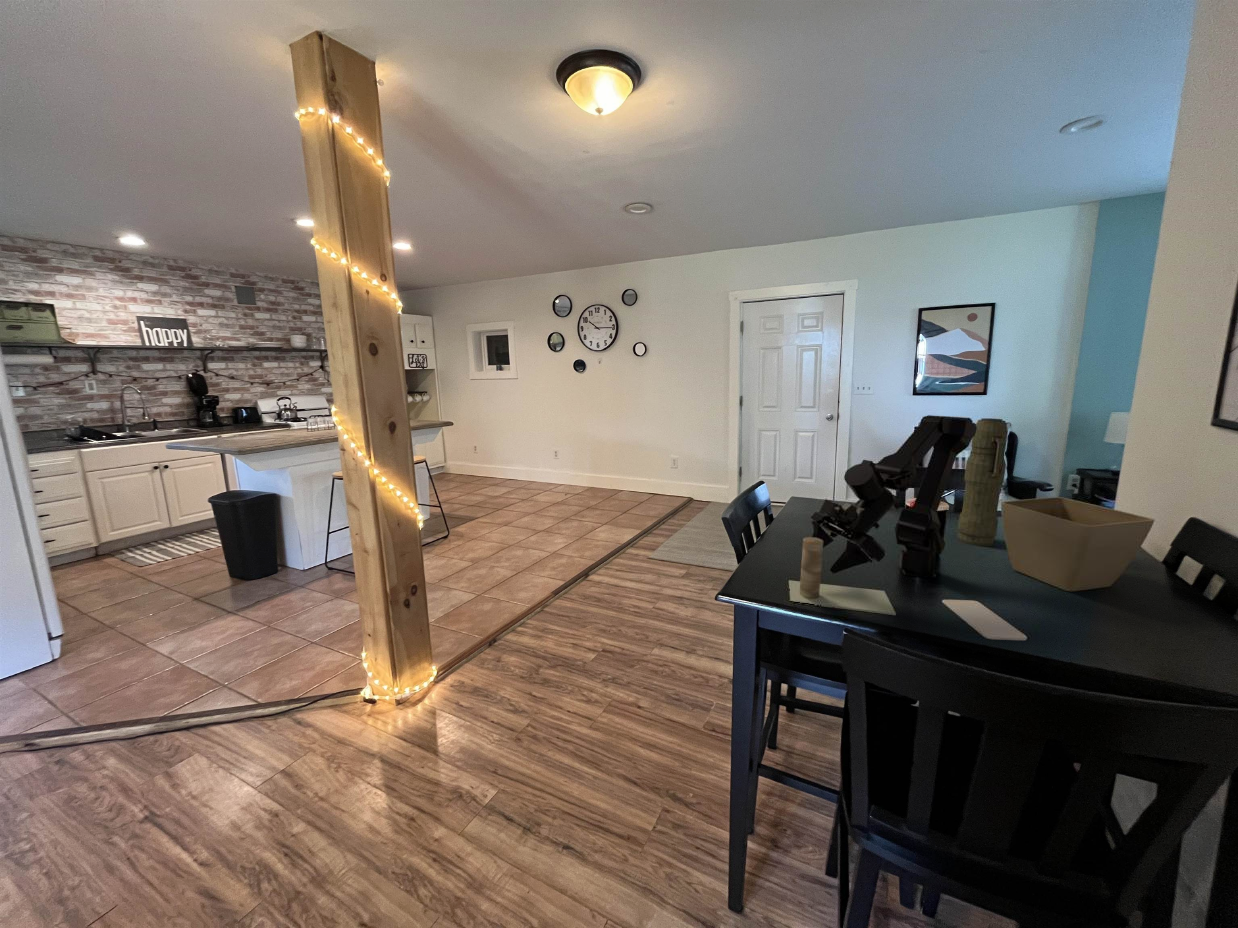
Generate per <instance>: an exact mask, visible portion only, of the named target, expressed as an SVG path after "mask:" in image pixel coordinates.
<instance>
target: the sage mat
mask: <svg viewBox="0 0 1238 928" xmlns="http://www.w3.org/2000/svg"><path fill="white" fill-rule="evenodd" d="M788 588H789V589H790V591H789V602H790V601H793V602H800V603H799V604H801V603H809V604H814V605H813V606H817V605H819V606H818V607H825V608H826V607H827V608H833V607H834V609H842V610H850V611H859V612H865V613H874V614H875V613H876V614H881V615H889V616H891V615H892V616H896V614H897V613H896V611H895V609H894V607H893V605H892V603H891V602H890V599H889V597H888V595H887V594H886V591H885V590H878V589H870V588H860V587H852V586H843V585H833V584H826V583H820V591H819V597H818V598H816V599H809V598H805V597H803V596H801V595H800V580H799V581H797V580H788ZM793 602H792V603H793ZM809 604H808V605H809ZM820 605H821V606H820Z"/></svg>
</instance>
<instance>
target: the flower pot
mask: <svg viewBox="0 0 1238 928" xmlns="http://www.w3.org/2000/svg"><path fill="white" fill-rule="evenodd" d="M1000 510H1001V511H1000V512H1001V513H1000V514H1001V523H1002V524H1001V525H1002V529H1003V536H1004V541H1005V546H1006V549H1007V553H1008V557H1009V561H1010V564H1011V566H1012V568H1013V570H1014V571H1016V572H1018V573H1021V574H1024V575H1026V576H1029V577H1031V578H1033V579H1035V580H1038V581H1041V582H1043V583H1045V584H1048V585H1051V586H1053V587H1055V588H1058V589H1061V590H1062V591H1067V592H1078V591H1087V590H1095V589H1101V588H1108V587H1111V586H1112V585H1113V584H1114V583H1115V582H1116V581H1117V580H1118V579H1119V577H1120V576H1121V575H1122V573H1123V572H1124V571H1125V570H1126V569H1127V567H1128V566H1129V565H1130V563H1131V562H1132V560H1133V559H1134V558H1135V556H1137V553H1138V552H1139V550H1140V549H1141V547H1142V545H1143V544H1144V542H1145V541H1146V539H1147V537H1148V534H1149V533H1150V531H1151V529H1152V527H1153V525H1154V522H1155V519H1154V518H1152V517H1147V516H1144V515H1143V516H1142V515H1138V514H1134V513H1130V512H1127V511H1122V510H1118V509H1114V508H1110V507H1105V506H1101V505H1096V504H1094V503H1093V504H1091V503H1088V502H1083V501H1079V500H1075V499H1070V498H1065V497H1060V496H1052V497H1041V498H1029V499H1018V500H1017V499H1016V500H1015V499H1014V500H1006V501H1001V502H1000Z"/></svg>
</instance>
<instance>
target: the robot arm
mask: <svg viewBox="0 0 1238 928" xmlns="http://www.w3.org/2000/svg"><path fill="white" fill-rule="evenodd" d="M973 421H974V420H973V419H972V418H970V417H963V416H961V417H960V416H947V415H946V416H945V415H933V414H932V415H930V414H929V415H925V416H922V418H921V419H920V421H919V425H918V426H917V427H916V428H915V430H914V431H913V432H912V433H910V436H908V438H907V439H906V440H905V441H904V443H902V444H901V446H900V447H899V449H898V450H897V451H896V452H894V453H892V454H888V455H886V456H884V457H883V458H882V459H880V460H878V462H877V463H876V464H875V463H874V462H873V460H868V459H863V460H862V461H861V463H858V464H854V465H853V466H852V465H851V467H849V468H847V470H846V471H845V472H844V475H843V478H844V479H843V480H844V481H845V483H846V484H847V486H848V487H849V488H850V490H851V491H852V493H853V494H854V495H855V497H856V498H858V500H857V501H856V502H855V503H847V502H846V503H844V504H843V505H841V504H838V503H836V502H834V501H831V500H829V499H827V498H825V499H824V501H823V504H822V506H821V507H820V509H819V511H815V512H814V513H813V514H812V515H811V517H810V520H811V525H812V527H813V531H812V532H813V533H812V535H811V537H814V538H819V539H821V540H823V549H824V548H825V547H827V546H828V545H830V544H832V543H833V542H834V538H837V537H838V536H839V537H840V538H842V539H845V540H846V546H845V550H844V551H843V552H842V554H841V555H840V556H839V557H837V560H836V561H835V562H834V563H833V564H832V566H830V567H831V568H830V569H829V571H830V572H831V574H836V573H840V572H842V571H845V570H847V569H850V568H853V567H856V566H860V565H863V564H868V563H869V564H872V563H873V561H874V562H876V563H877V564H879V563H880V562H881V561H882V560H883V559H884V558H885V554H886V550H885V549H884V547H883V546H882V545H881V544H880V543H879V542H878V541H877V540H876V539H875V537H873V536H872V535H870V534H868V533H869V532H870V531H871V530H872V528H873V529H875V530H878V529H879V528H880V527H881V526H880V524H879V523H878V522H879V521H880V520H882V518H883V517H884V516H885V515H886V514H887V513H888V511H889V510H890V509H894V510H896V511H897V510H899V508H900V503H899V500H900V497H899V496H897V495H895V494H893V493H892V491H897V492H906V491H907V490H908V489H909V488H910V487H911V486H913V483H914V481H915V479H916V478H917V471H916V469H917V466H918V465H919V464H920V462H921V461H922V460H923V459H924V458H925V456H926V455H928V452H930V451H931V449H932V452H931V455H930V458H929V461H928V464H927V467H926V469H925V473H924V474H923V477H922V481H921V483H920V485H919V489H918V491H917V495H916V498H915V500H914V502H913V505H911V506H910V507H909V508H902V510H901V512H900V516H899V519H898V520H897V522H896V525H895V527H894V529H895V530H894V532H895V538H896V544H897V545H899V546H902V549H900V551H899V558H898V566H899V568H900V569H901V570H902V572H903V574H904V575H906V576H911V577H913V576H914V577H923V578H932V579H935V578H937V574H935V563H936V555H942V553H943V551H944V549H945V546H946V542H945V539H944V538H943V536H942V535H941V532H940V530H941V525H942V524H941V522H940V521H941V520H940V519H939V515H938V510H939V506H940V504H941V502H942V499H943V496H944V495H943V494H944V493H945V489H946V487H947V484H948V481H949V478H950V475H951V473H952V470H953V468H954V467H953V466H954V463H955V461H956V458H957V456H958V455H959V454H961V453H962V452H963V451H965V450H966V449H968V448H969V446H970V445H971V443H972V438H973V437H974V436H975V434H976V430H977V426H976V423H975V422H973ZM890 490H892V491H890Z"/></svg>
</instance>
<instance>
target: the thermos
mask: <svg viewBox="0 0 1238 928" xmlns="http://www.w3.org/2000/svg"><path fill="white" fill-rule="evenodd" d="M975 424H976V426H977V430H976V434H975V436H974V437H973V438H972V440H971V443H970V446H971V450H970V453H969V456H968V458H967V460H966V463H965V470H964V478H963V479H964V482H965V487H964V493H963V502H962V511H961V512H960V514H959V516H958V524H957V536H956V539H957V540H958V541H960V542H961V543H965V544H968V545H972V546H978V547H991V546H992V547H993V546H994V545H995V540H996V539H995V538H996V537H997V531H998V525H999V520H998V515H997V514H998V506H999V500H1000V493H1001V487H1002V486H1003V484H1004V482H1005V481H1004V480H1005V475H1006V474H1005V473H1006V466H1007V464H1006V459H1005V454H1006V453H1005V452H1006V447H1007V441H1008V440H1007V439H1008V432H1009V430H1008V426H1007V422H1006V420H1003V418H1002V419H1001V418H993V417H992V418H987V417H986V418H983V417H982V418H981V419H978V420H977V421H976V423H975Z"/></svg>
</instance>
